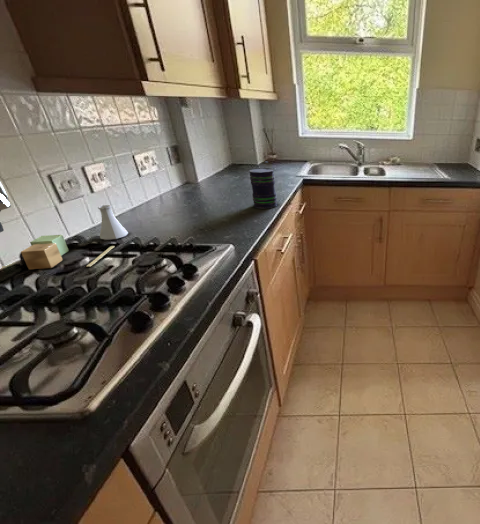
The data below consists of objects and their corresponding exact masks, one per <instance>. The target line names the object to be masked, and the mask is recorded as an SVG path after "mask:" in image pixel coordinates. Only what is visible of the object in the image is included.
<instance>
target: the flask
mask: <svg viewBox="0 0 480 524" xmlns="http://www.w3.org/2000/svg"><path fill="white" fill-rule="evenodd" d="M97 209H98V210H99V211H100V217H101V222H100V225H101V226H100V232H99V239H101V240H105V241H107V240H118V239H120V238H123V237H126V236H127V235H128V234H129V232H128V230H126V228H125V227H124V226H123V225H122V224H121V223H120V221H119V220H118V219H117V218H116V216H115V215H114V212H113V210H112V205H110V204H105V205H104V204H103V205H100V206H98V207H97Z"/></svg>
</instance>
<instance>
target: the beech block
mask: <svg viewBox="0 0 480 524" xmlns="http://www.w3.org/2000/svg"><path fill="white" fill-rule="evenodd" d="M20 254H21V256H22V258H23V260H24V262H25V264H26V267H27V268H28V270H41V269H52V268H54V267H56V266H57V265H58V264H59V263H61V262H62V261H63V260H64V259H63V256H61V254H60V252H59V250H58V247H57V245H56V243H51V244H34V245H32V246H31V245H30V246H29V247H26V248H25V249H23V250H21V251H20Z"/></svg>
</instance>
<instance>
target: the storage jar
mask: <svg viewBox="0 0 480 524" xmlns="http://www.w3.org/2000/svg"><path fill="white" fill-rule="evenodd" d="M268 163H269V161H264V164H268ZM274 172H275V171H274V168H268V167H267V168H265V167H260V168H258V167H257V168H252V169H249V180H250V185H251V188H252V194H251V195H252V201H253V208H255V209H263V210H264V209H273V208H275V207H277V206H278V197H277V192H276V186H275V185H276V177H275V173H274Z"/></svg>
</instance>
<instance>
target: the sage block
mask: <svg viewBox="0 0 480 524" xmlns="http://www.w3.org/2000/svg"><path fill="white" fill-rule="evenodd" d="M29 243H30V246H32V245H34V244H51V243H56V245H57V247H58V250H59V252H60V254H61V257H63V255H65V254H66V253H68V252H69V248H68V245H67V242H66V239H65V237H64V234H51V235H50V234H49V235H41V236H39V237H37V238H35V239H33V240H32V241H30V242H29Z"/></svg>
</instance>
